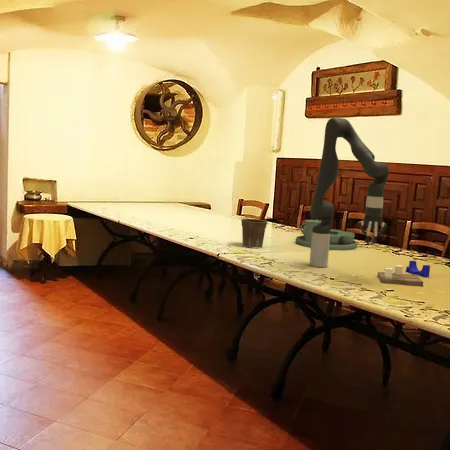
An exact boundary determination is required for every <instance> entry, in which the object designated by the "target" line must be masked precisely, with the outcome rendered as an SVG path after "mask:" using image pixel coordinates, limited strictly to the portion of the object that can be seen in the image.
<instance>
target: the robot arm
mask: <svg viewBox="0 0 450 450" xmlns="http://www.w3.org/2000/svg"><path fill="white" fill-rule="evenodd" d="M324 128H325V129H324V139H323V149H322V154H321V161H320V164H319V169H318V176H317V182H316V186H315V190H314V193H313V197H312V200H311V205H310V209H309V210H310V213H309V214H310V217H311V219H312V220H316V219H318V220H319V221H321V222H320V223H319V224H318V225H315V226H313V228H312V239H311V247H310V254H309V255H310V256H309V266H311V267H314V268H328V266H329V263H328V262H329V256H330V255H329V254H330V253H329V252H330V250H329V243H330V231H331V229H333V221H334V216H335V215H334V214H335V208H334V204H333V203H332V202H330V201H324V198H325V195H326V193H327V192H328V191H329V189H330V188H331V187H332V186H333V184H334V183H335V182H336V180H337V178H338V175H339V168H340V162H339V156H338V154H337V151H336V150H337V148H336V147H337V141H338V138H343V139H344V140H345V141H346V142H347V143H348V144H349V147H350V149H351V153H352V155H353V157H354V158H355V159H356V160H357V161H358V162H359V163H360V164H361V166H362V169H363V171H364V173H365V174H366V175H367V176H368V177H370V178H373V181H372V182H370V183H369V184H368V186H367V194H366V195H367V196H366V199H365V200H366V201H365V207H364V208H365V210H364V218H363V219H362V220H361V221H358V222H357V224H358V227H359V228H360V231H361V233H362V235H365V243H366V245H369V244H370V240H371V239H370V234H371V230H372V229H373V236H372V237H373V238H372V245H375V244H377V240H378V239H377V238H378V236H379V237H380V236H382V234H383V233H384V231H386V229H387V227H388V224H387V223H385V222H384V221H383V209H384V208H383V207H384V192H385V187H386V184H387V181H388V177H389V174H390V169H389V166H388V164H387V163H385V162H379V161H375V158H376V156H375V154H374V153H373V152H372V151H371V150H370V149H369V147H368V146H367V144H365V143H364V141H362V139H361V138H360V136H359V135H358V133H357V132H356V130H355V128H354V127H353V125H352V124H351V122H350V121H349V120H348V119H346V118H342V117H341V118H340V117H331V118H328V120H327V121H326V125H325V127H324ZM364 225H365V226H366V231H365V229H364ZM380 226H381V228H380V229H379V231H378V228H379V227H380Z"/></svg>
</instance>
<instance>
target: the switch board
mask: <svg viewBox="0 0 450 450" xmlns="http://www.w3.org/2000/svg"><path fill="white" fill-rule="evenodd" d="M384 272H385V271H378V272H377V275H376V276H377V277H378V280H379V281H380V282H381V283H382V284H392V285H401V286H413V287H423V286H424V281H423V280H422V279H421V278H420V276H419V275H413V274H410V273H408V274H406V273H402V275H395V272H392V278H386V277H384Z"/></svg>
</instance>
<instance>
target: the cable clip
mask: <svg viewBox="0 0 450 450" xmlns="http://www.w3.org/2000/svg"><path fill="white" fill-rule="evenodd" d="M408 262H409V263H408V266H406V269H405V272H406V273H407V272H408V274H409V275H417V276H418V277H422V278H430V271H431V265H430V264H423V265H422V268H421V270H419V268H418V266H417V261H416V260H409V261H408Z"/></svg>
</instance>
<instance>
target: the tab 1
mask: <svg viewBox="0 0 450 450" xmlns="http://www.w3.org/2000/svg"><path fill="white" fill-rule="evenodd" d="M383 272H384V277H386V278H392V273H393V268H392V267H385V268H384V271H383Z"/></svg>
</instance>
